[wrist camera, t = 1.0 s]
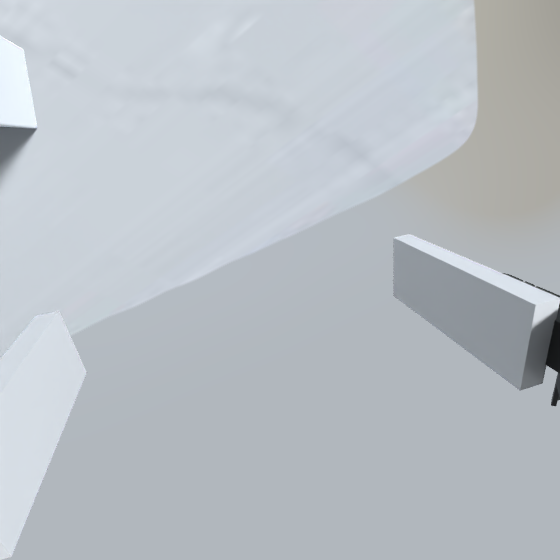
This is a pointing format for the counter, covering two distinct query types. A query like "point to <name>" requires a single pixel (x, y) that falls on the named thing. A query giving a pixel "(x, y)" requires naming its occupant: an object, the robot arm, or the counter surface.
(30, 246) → the counter surface
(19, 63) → the pale carton
